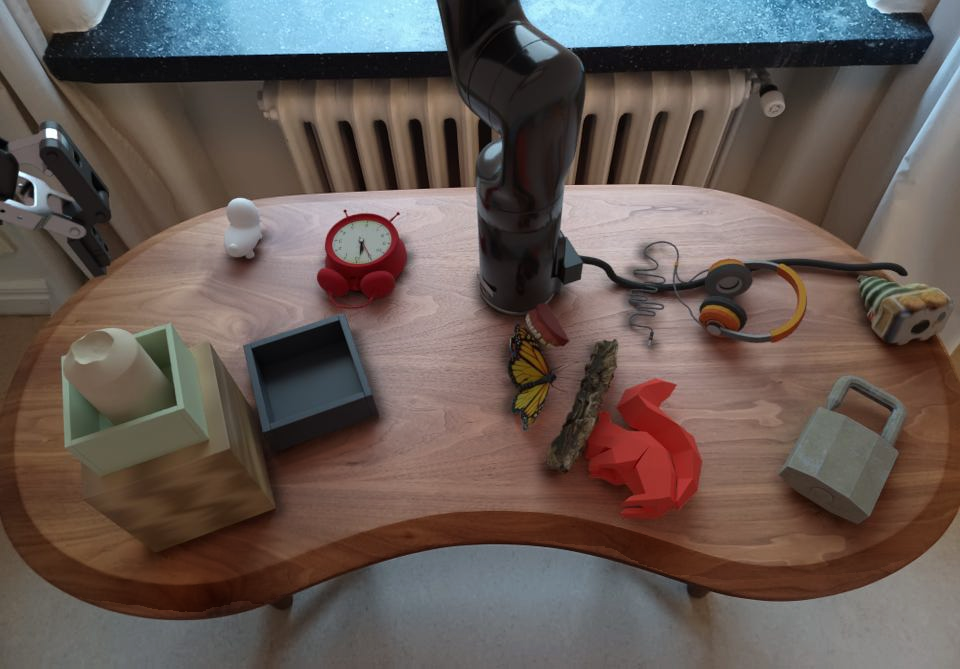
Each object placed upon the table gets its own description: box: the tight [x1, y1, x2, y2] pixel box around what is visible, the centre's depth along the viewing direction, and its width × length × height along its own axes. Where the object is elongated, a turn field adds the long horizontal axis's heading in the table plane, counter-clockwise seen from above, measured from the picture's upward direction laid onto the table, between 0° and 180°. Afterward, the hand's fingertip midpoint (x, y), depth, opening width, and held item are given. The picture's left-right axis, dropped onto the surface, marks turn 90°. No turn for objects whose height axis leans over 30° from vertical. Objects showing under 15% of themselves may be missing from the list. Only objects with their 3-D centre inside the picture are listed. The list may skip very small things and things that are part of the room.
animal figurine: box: [584, 377, 703, 520], centre depth 69 cm, size 12×15×5 cm
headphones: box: [628, 240, 808, 348], centre depth 79 cm, size 17×5×20 cm
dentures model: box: [508, 303, 570, 370], centre depth 75 cm, size 6×4×8 cm
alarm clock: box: [316, 209, 408, 310], centre depth 84 cm, size 10×6×15 cm
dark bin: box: [242, 312, 380, 453], centre depth 74 cm, size 12×12×5 cm
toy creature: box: [223, 197, 264, 259], centre depth 87 cm, size 5×8×6 cm, turn 173°
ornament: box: [856, 274, 955, 346], centre depth 78 cm, size 8×6×10 cm
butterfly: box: [507, 323, 581, 432], centre depth 72 cm, size 12×9×5 cm
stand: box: [80, 340, 277, 553], centre depth 65 cm, size 12×12×14 cm
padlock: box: [777, 375, 908, 525], centre depth 69 cm, size 4×8×15 cm
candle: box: [63, 327, 177, 426], centre depth 55 cm, size 6×6×10 cm
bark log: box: [542, 338, 620, 474], centre depth 71 cm, size 18×5×7 cm, turn 157°
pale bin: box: [60, 322, 209, 477], centre depth 57 cm, size 9×9×6 cm
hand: (34, 286), depth 45 cm, fingers open, 8 cm apart
